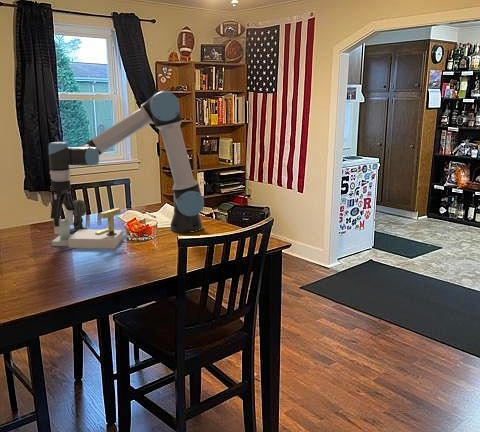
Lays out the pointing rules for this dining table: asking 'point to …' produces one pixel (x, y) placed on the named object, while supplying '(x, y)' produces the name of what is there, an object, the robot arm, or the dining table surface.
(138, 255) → the dining table surface
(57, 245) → the pad
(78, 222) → the figurine
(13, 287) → the dining table surface
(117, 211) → the key
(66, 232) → the cover
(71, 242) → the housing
